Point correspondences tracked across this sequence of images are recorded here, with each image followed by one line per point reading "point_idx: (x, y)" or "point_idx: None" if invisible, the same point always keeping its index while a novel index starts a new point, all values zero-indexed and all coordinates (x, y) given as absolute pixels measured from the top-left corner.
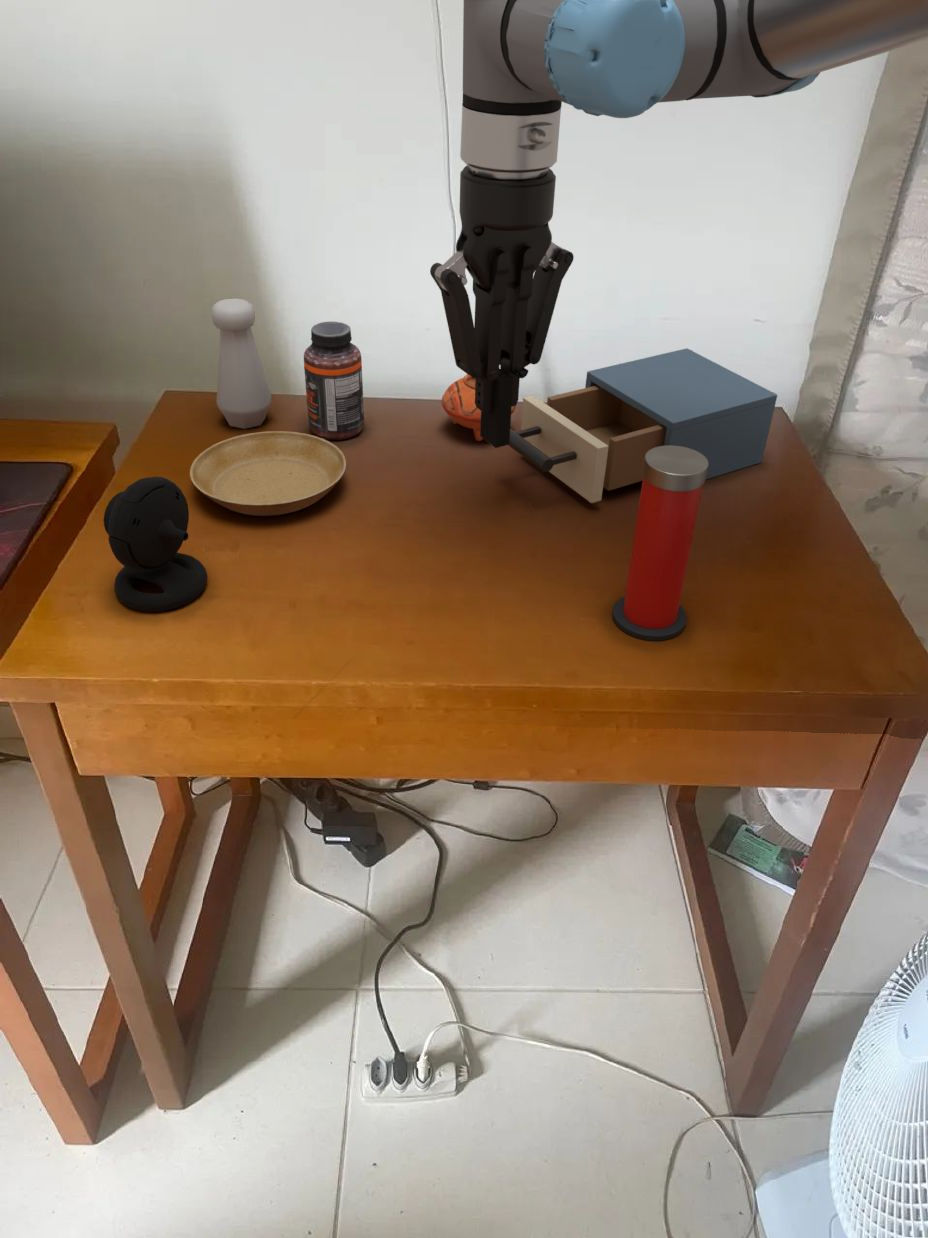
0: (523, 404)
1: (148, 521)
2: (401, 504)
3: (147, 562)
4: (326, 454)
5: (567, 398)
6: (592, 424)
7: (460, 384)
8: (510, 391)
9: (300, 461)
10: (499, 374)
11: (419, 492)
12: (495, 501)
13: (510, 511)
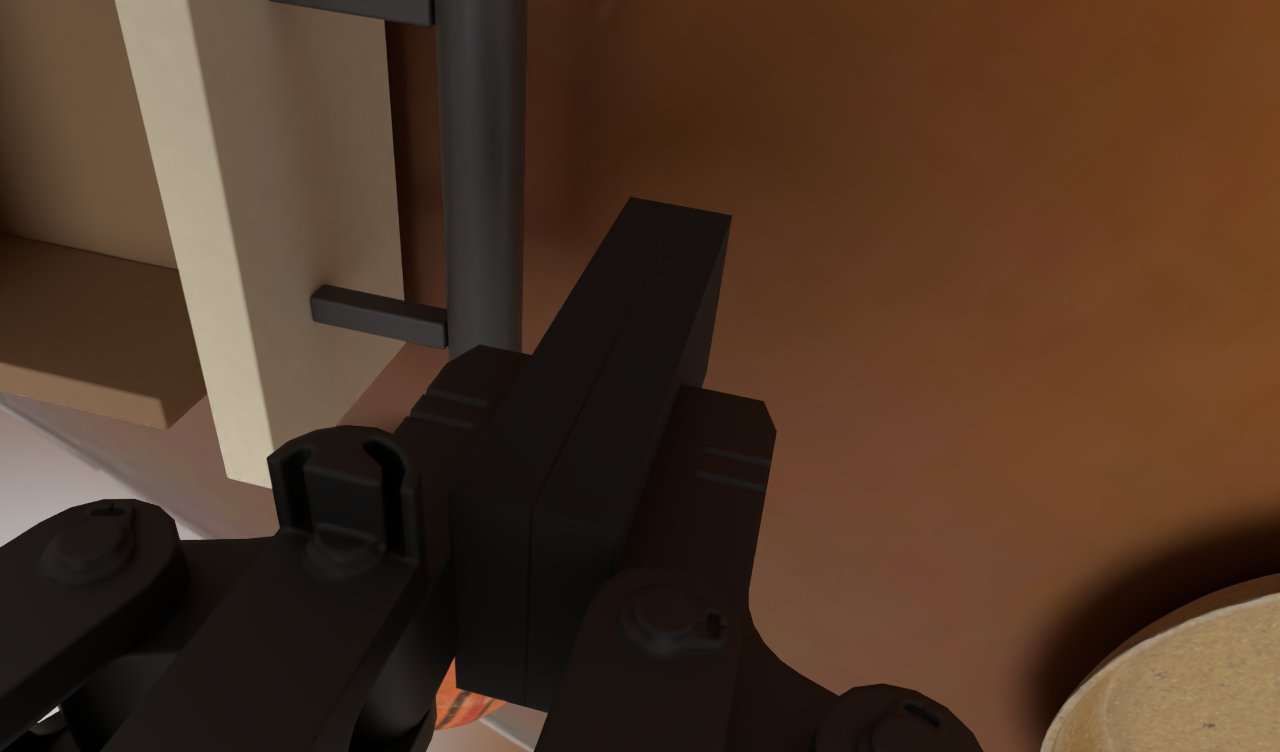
0: None
1: None
2: (1063, 360)
3: None
4: (1067, 722)
5: (80, 372)
6: (59, 257)
7: (440, 709)
8: (521, 410)
9: (1113, 745)
10: (526, 602)
11: (928, 379)
12: (721, 129)
13: (724, 13)
